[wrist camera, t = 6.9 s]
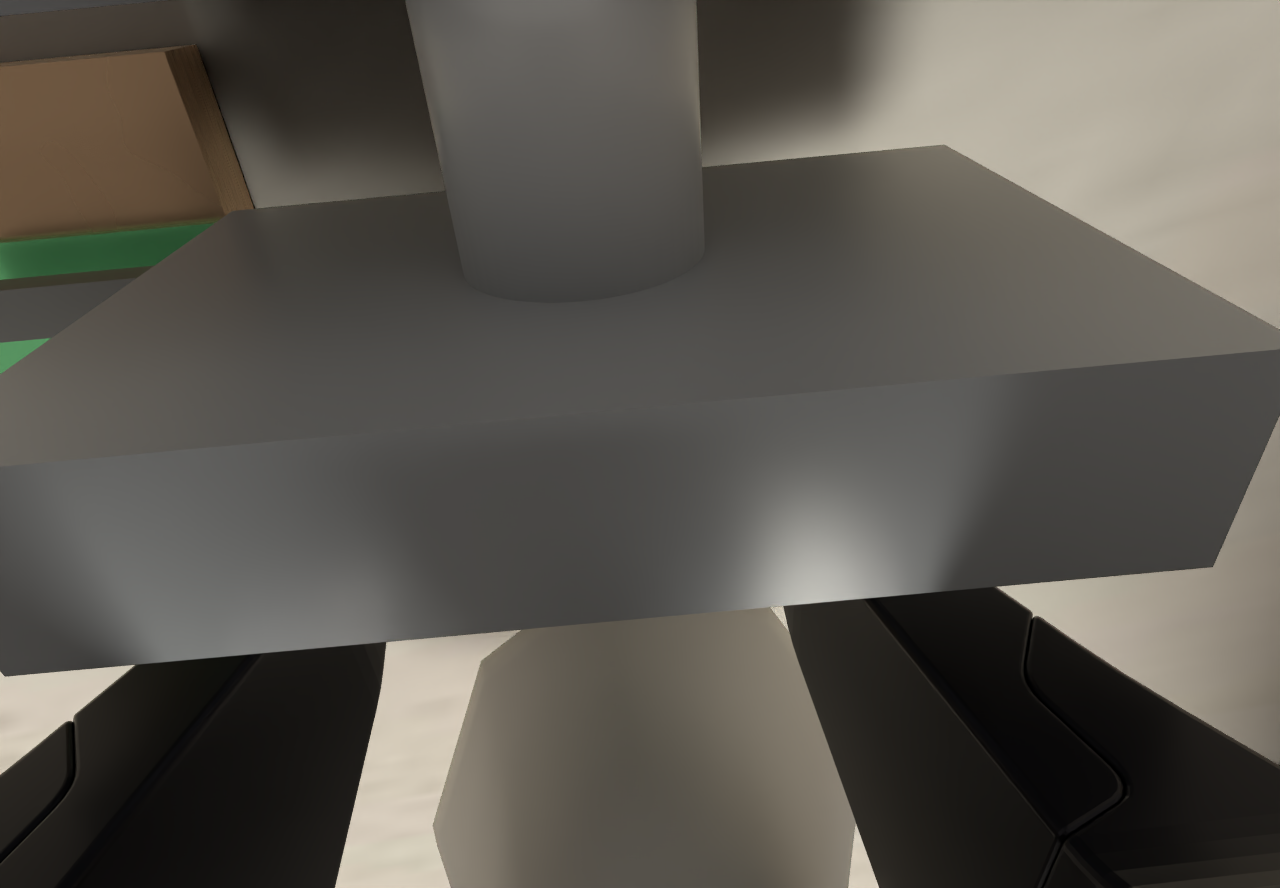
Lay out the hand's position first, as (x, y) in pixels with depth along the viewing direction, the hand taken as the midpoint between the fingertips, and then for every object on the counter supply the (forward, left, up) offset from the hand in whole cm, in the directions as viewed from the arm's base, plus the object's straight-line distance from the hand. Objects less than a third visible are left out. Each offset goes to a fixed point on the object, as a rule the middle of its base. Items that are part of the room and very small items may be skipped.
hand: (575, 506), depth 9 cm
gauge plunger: (+4, +1, -2) cm, 5 cm away
